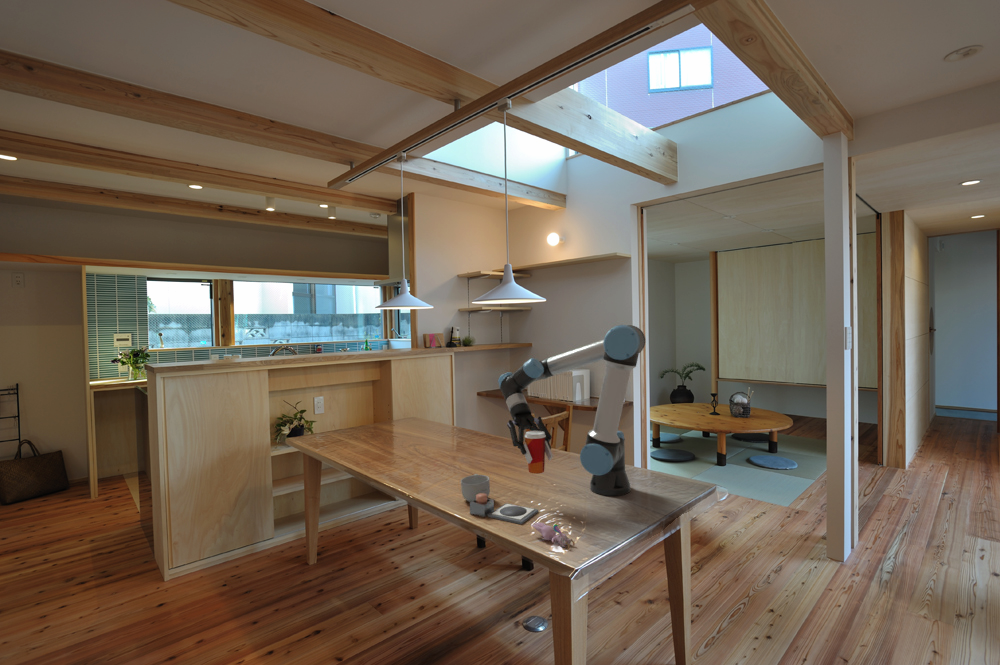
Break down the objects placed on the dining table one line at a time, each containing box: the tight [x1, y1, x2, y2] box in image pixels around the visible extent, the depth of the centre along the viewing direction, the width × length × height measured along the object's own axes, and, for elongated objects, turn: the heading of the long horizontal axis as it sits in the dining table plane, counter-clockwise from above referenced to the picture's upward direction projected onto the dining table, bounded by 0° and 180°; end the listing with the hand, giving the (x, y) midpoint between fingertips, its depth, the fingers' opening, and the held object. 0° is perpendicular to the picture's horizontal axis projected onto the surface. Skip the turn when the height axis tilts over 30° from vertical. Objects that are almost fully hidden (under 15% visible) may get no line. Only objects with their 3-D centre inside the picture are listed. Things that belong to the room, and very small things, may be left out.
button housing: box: [469, 497, 495, 518], centre depth 164 cm, size 6×6×4 cm
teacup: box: [459, 473, 491, 503], centre depth 177 cm, size 14×11×8 cm
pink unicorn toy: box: [530, 522, 576, 549], centre depth 140 cm, size 6×6×15 cm
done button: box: [476, 493, 488, 504], centre depth 164 cm, size 4×4×3 cm
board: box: [487, 502, 539, 525], centre depth 161 cm, size 13×12×1 cm
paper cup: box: [524, 430, 546, 475], centre depth 170 cm, size 8×8×14 cm
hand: (540, 459), depth 167 cm, fingers closed on paper cup, 8 cm apart
